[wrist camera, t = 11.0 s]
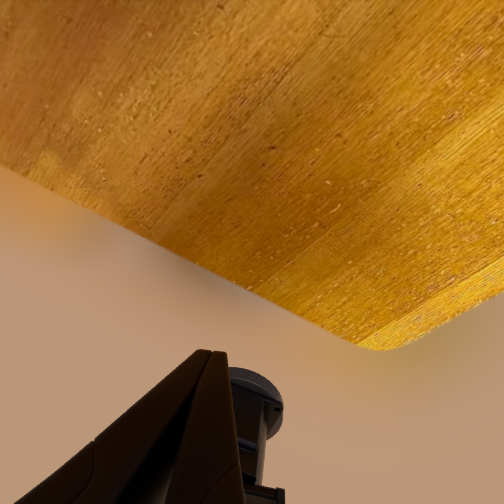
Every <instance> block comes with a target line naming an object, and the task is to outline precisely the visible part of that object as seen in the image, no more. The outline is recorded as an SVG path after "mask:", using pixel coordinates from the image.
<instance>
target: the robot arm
mask: <svg viewBox="0 0 504 504" xmlns="http://www.w3.org/2000/svg"><path fill="white" fill-rule="evenodd" d="M283 406H284V405H283V403H282V402H280V401H278V400H276V399H273V398H271V397H268V396H266V395H263V394H260V393H258V392H255V391H253V390H250V389H248V388H245V387H243V386H240V385H237V384H235V383H232V382H230V376H229V368H228V360H227V353H226V352H221V351H213V352H212V351H210V350H203V349H199V350H196V351H195V352H194V353H193V354H192V355H191V356H189V357H188V358H187V359H186V360H185V361H184V362H182V363H181V364H180V365H179V366H178V367H177V368H176V369H174V370H173V371H172V372H171V373H170V374H169V375H167V376H166V377H165V378H164V379H163V380H162V381H160V382H159V383H158V384H157V385H156V386H155V387H154V388H152V389H151V390H150V391H149V392H148V393H147V394H146V395H144V396H143V397H142V398H141V399H140V400H138V402H136V403H135V404H134V405H133V406H132V407H130V408H129V409H128V410H127V411H126V412H125V413H123V414H122V415H121V416H120V417H119V418H118V419H117V420H115V421H114V422H113V423H112V424H111V425H110V426H108V427H107V428H106V429H105V430H104V431H103V432H101V433H100V434H99V435H98V436H97V437H96V438H95V440H94V441H91V442H90V443H89V444H87V445H86V446H85V447H84V448H83V449H82V450H80V451H79V452H78V453H77V454H76V455H75V456H73V457H72V458H71V459H70V460H69V461H67V462H66V463H65V464H64V465H62V466H61V467H60V468H59V469H58V470H57V471H55V472H54V473H53V474H52V475H50V476H49V477H48V478H47V479H45V480H44V481H43V482H41V483H40V484H39V485H37V486H36V487H35V488H33V489H32V490H31V491H30V492H28V493H27V494H26V495H24V496H23V497H22V498H20V499H19V500H18V501H16V502H15V503H14V504H285V489H282V488H278V487H276V489H274V488H270V487H265V486H262V477H263V467H264V457H265V447H266V437H267V435H268V434H269V432H270V431H271V429H272V428H273V426H274V425H275V423H276V421H277V420H278V418H279V417H280V415H281V414H282V412H283Z"/></svg>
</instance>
